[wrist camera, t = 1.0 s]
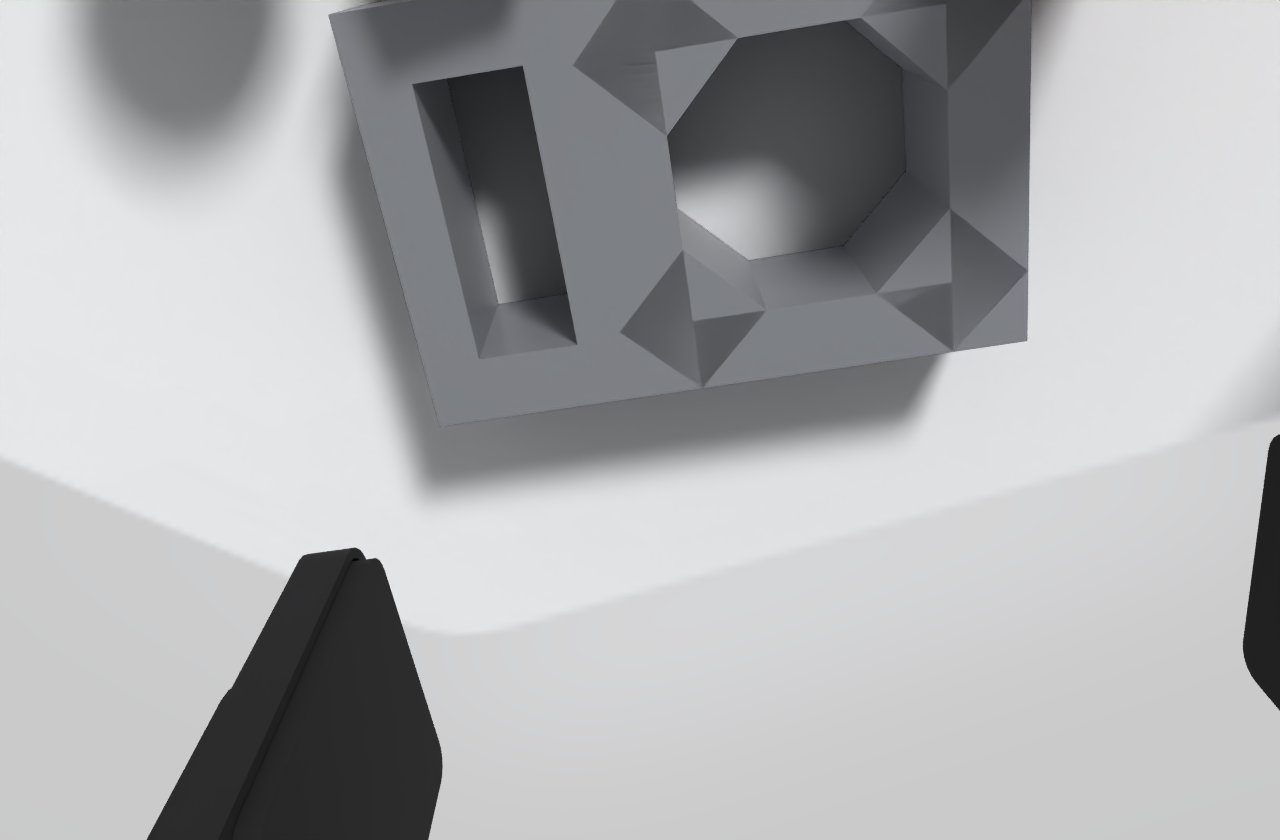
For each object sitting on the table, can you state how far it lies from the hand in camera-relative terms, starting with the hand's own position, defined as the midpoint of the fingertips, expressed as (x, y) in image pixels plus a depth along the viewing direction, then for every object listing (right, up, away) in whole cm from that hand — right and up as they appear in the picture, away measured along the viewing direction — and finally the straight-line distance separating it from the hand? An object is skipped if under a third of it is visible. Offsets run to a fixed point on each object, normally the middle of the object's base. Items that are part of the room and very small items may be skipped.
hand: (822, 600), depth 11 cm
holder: (0, +10, +22) cm, 24 cm away
